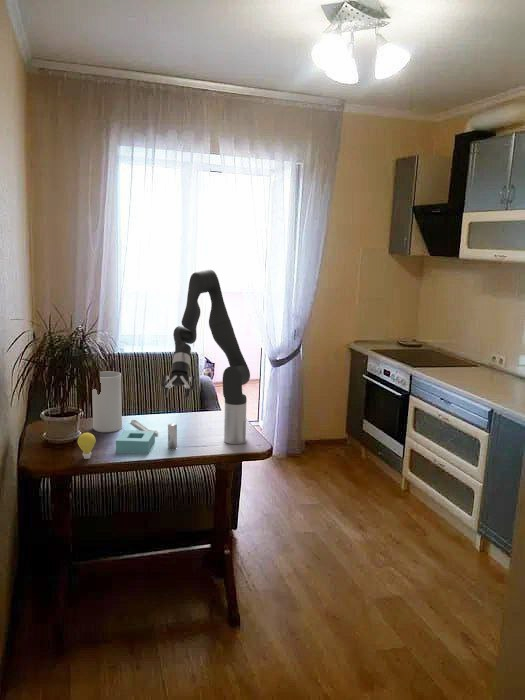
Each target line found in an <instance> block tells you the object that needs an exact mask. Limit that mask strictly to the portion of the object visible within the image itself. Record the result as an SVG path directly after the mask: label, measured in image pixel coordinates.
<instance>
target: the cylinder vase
mask: <svg viewBox="0 0 525 700" xmlns="http://www.w3.org/2000/svg"><path fill="white" fill-rule="evenodd" d="M99 372H100V383H101V392H100V394H99V395H98V394H97V390H96V389H93V390H91V391H92V392H91V393H92V394H91V395H92V397H91V398H92V428H93V430H94V431H95V432H98V433H113V432H117V431H120V430H121V429H122V426H123V413H122V411H123V409H122V407H123V405H122V404H123V403H122V373H121V372H118V371H113V370H112V371H99Z"/></svg>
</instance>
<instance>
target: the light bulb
mask: <svg viewBox="0 0 525 700" xmlns="http://www.w3.org/2000/svg"><path fill="white" fill-rule="evenodd" d="M77 438H78V439H77V445H78V446H79V448H80V450H81V451H82V456H83V459H85V460H87V459H91V456H92V450H93V449H94V447H95V444H96V443H97V442H96V441H97V440H96V437H95V435H94V434H92V433H91V432H83V433H82V434H80V435H79V436H78V437H77Z"/></svg>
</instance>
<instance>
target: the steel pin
mask: <svg viewBox="0 0 525 700" xmlns="http://www.w3.org/2000/svg"><path fill="white" fill-rule="evenodd" d="M176 448H178V424H177V423H168V424H167V449H168V450H169V449H171V451H173V450H172V449H175V450H177V449H176Z"/></svg>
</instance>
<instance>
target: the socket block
mask: <svg viewBox="0 0 525 700" xmlns="http://www.w3.org/2000/svg"><path fill="white" fill-rule="evenodd" d="M155 431H156V430H154V431H141V430H127V429H126V430H125V429H124V430H122V432H121V433H120V434H119V435H118V437H117V438H116V439H115V453H123V454H124V453H125V454H150V452H151V450H152V448H153V446H154V444H155V443H156V436H155Z"/></svg>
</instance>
